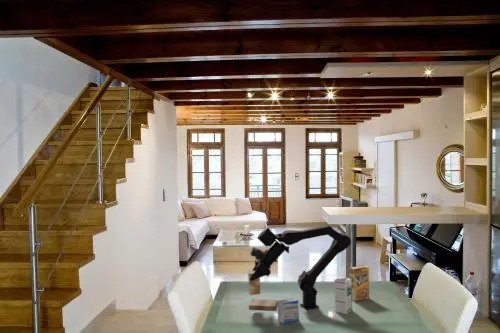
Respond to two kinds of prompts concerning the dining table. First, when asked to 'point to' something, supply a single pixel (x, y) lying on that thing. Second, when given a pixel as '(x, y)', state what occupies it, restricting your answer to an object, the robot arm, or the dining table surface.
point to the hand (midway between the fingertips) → (250, 278)
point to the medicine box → (288, 310)
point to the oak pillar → (253, 284)
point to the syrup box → (343, 295)
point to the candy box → (359, 282)
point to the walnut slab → (263, 304)
